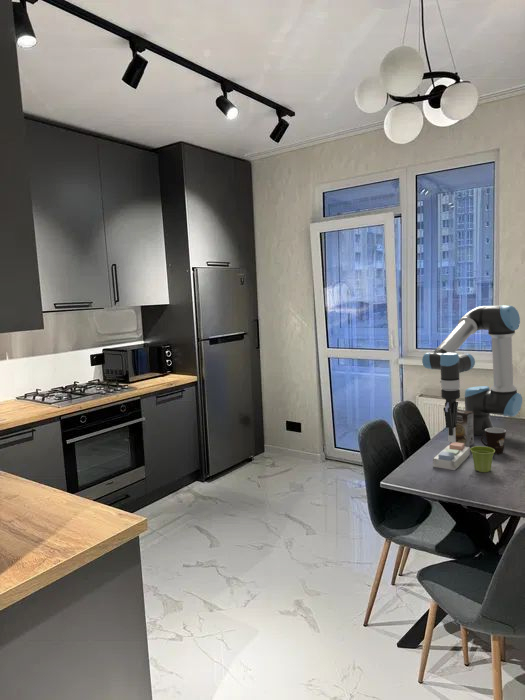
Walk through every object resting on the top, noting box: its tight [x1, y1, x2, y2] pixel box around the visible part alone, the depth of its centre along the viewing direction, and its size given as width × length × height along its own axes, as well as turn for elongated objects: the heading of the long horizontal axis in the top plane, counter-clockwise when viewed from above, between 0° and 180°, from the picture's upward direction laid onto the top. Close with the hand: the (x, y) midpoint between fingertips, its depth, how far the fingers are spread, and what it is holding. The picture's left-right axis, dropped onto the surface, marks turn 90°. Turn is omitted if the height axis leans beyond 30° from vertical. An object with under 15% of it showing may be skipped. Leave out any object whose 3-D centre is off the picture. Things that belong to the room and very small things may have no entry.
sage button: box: [445, 449, 460, 456], centre depth 222 cm, size 5×5×3 cm
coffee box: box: [449, 409, 475, 447], centre depth 243 cm, size 9×6×16 cm
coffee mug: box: [480, 427, 507, 455], centre depth 229 cm, size 12×9×10 cm
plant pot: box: [470, 445, 495, 473], centre depth 208 cm, size 9×9×9 cm
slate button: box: [437, 450, 454, 461], centre depth 216 cm, size 5×5×3 cm
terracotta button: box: [450, 442, 464, 451], centre depth 227 cm, size 5×5×3 cm
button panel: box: [432, 444, 471, 471], centre depth 222 cm, size 22×9×4 cm, turn 143°
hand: (452, 441), depth 221 cm, fingers closed
